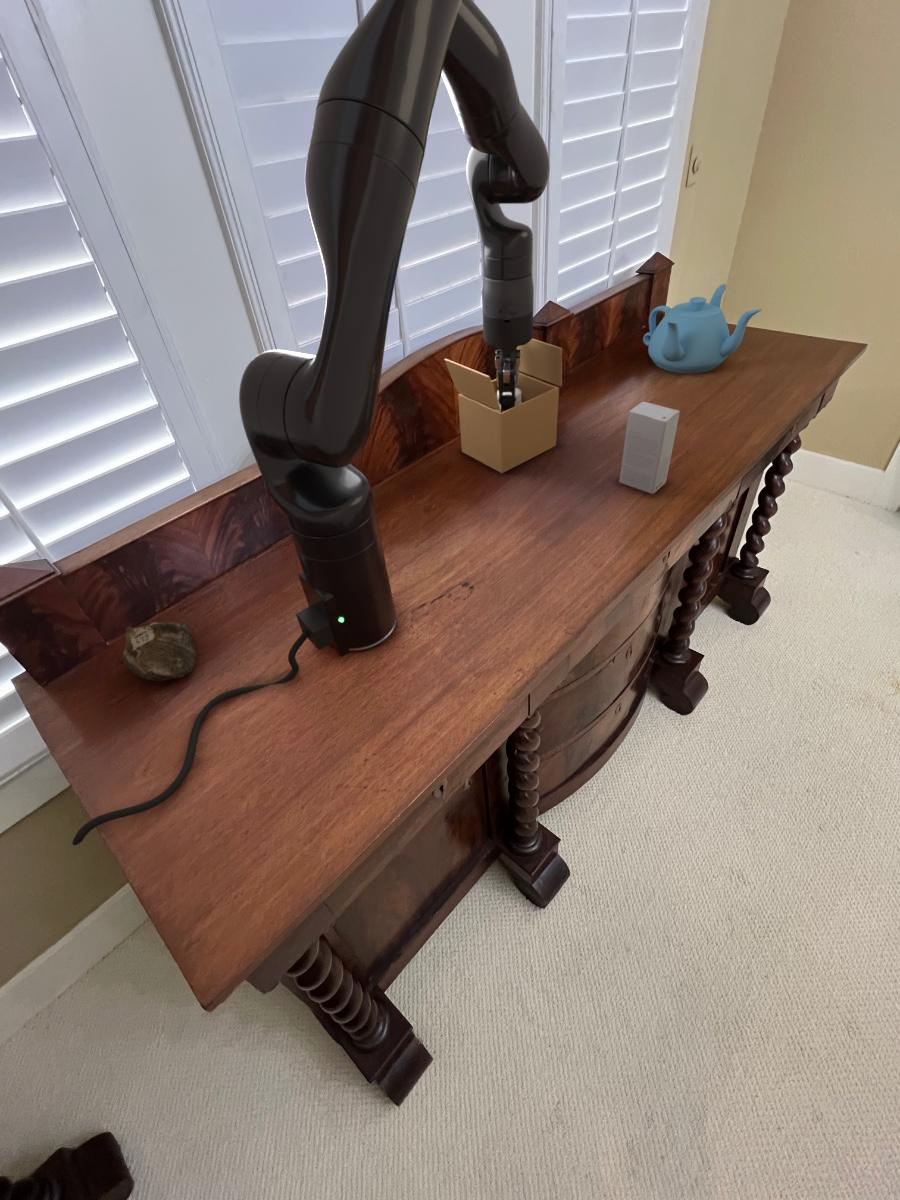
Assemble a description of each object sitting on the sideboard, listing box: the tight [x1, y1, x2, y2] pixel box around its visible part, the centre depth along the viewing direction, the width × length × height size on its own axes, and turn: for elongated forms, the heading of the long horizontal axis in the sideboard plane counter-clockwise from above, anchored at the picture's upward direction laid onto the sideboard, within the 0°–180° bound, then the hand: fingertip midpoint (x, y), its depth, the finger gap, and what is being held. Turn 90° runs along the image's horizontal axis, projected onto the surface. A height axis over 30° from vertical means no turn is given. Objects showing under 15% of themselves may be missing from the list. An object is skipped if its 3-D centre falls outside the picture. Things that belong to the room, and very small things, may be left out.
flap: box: [444, 358, 501, 411], centre depth 90 cm, size 6×10×1 cm
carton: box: [457, 337, 563, 474], centre depth 97 cm, size 14×10×17 cm
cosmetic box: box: [618, 401, 681, 495], centre depth 87 cm, size 6×4×12 cm
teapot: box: [642, 283, 763, 375], centre depth 119 cm, size 17×19×12 cm
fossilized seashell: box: [121, 621, 197, 682], centre depth 69 cm, size 8×7×10 cm
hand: (508, 415), depth 98 cm, fingers closed on supplement bottle, 4 cm apart
